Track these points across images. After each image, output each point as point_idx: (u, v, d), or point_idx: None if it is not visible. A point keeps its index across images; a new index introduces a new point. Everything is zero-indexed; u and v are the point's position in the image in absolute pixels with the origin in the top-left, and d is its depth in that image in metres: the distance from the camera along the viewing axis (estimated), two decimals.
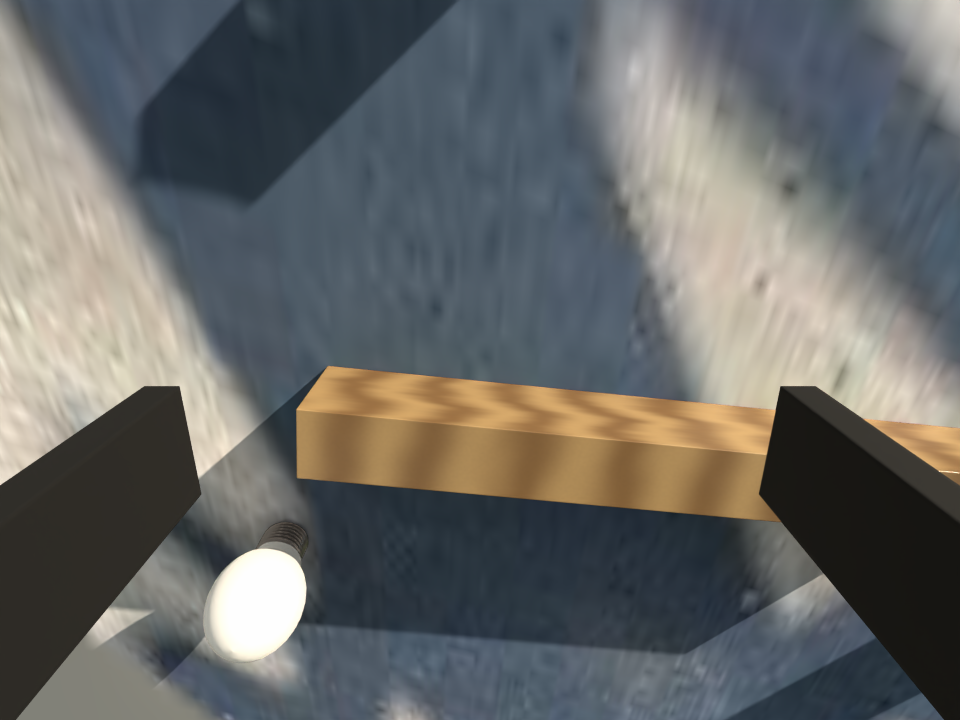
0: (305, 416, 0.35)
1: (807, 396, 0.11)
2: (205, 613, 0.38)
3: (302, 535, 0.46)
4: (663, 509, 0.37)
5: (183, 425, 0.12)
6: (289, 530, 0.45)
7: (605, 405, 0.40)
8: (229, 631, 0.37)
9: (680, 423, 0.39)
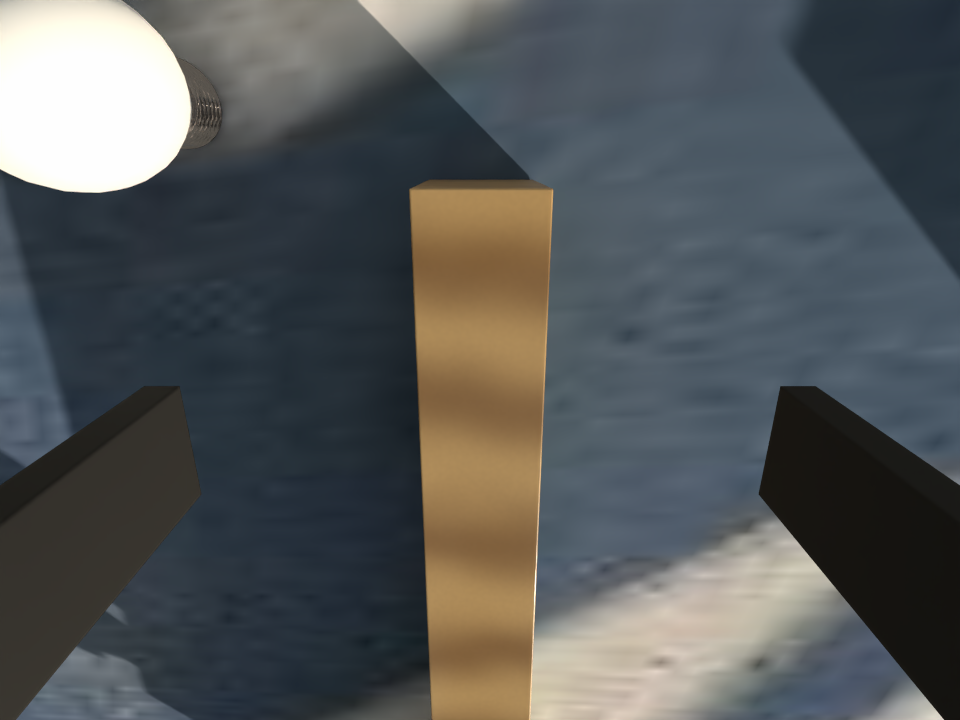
0: (540, 205, 0.19)
1: (808, 396, 0.11)
2: None
3: (202, 140, 0.25)
4: (434, 699, 0.28)
5: (183, 425, 0.12)
6: (211, 117, 0.24)
7: None
8: (17, 59, 0.15)
9: None
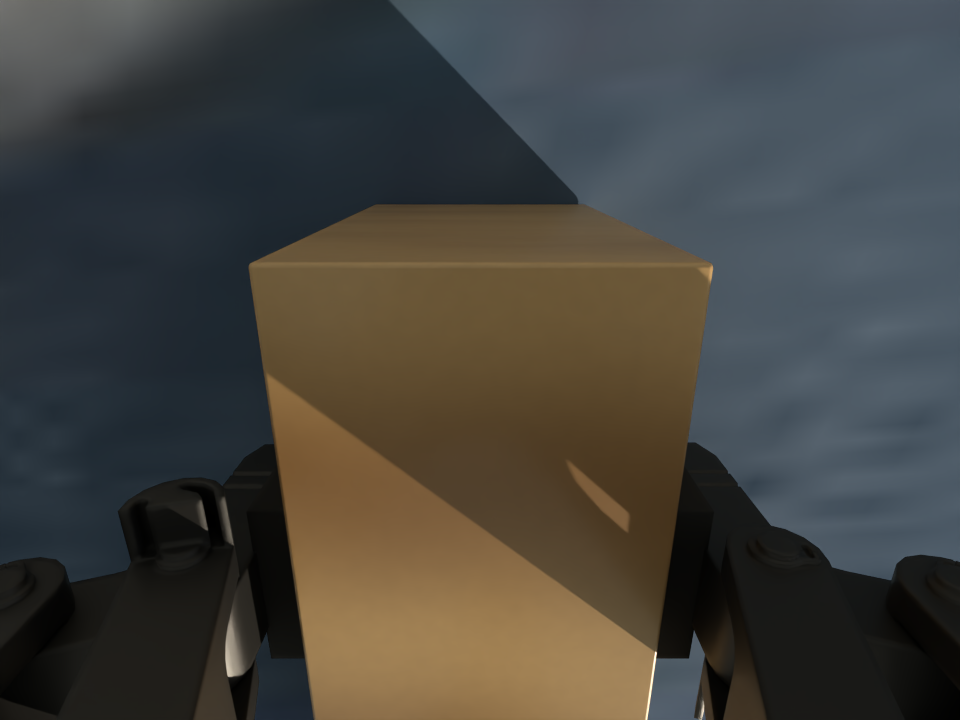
0: (670, 313, 0.06)
1: None
2: None
3: None
4: None
5: None
6: None
7: None
8: None
9: None
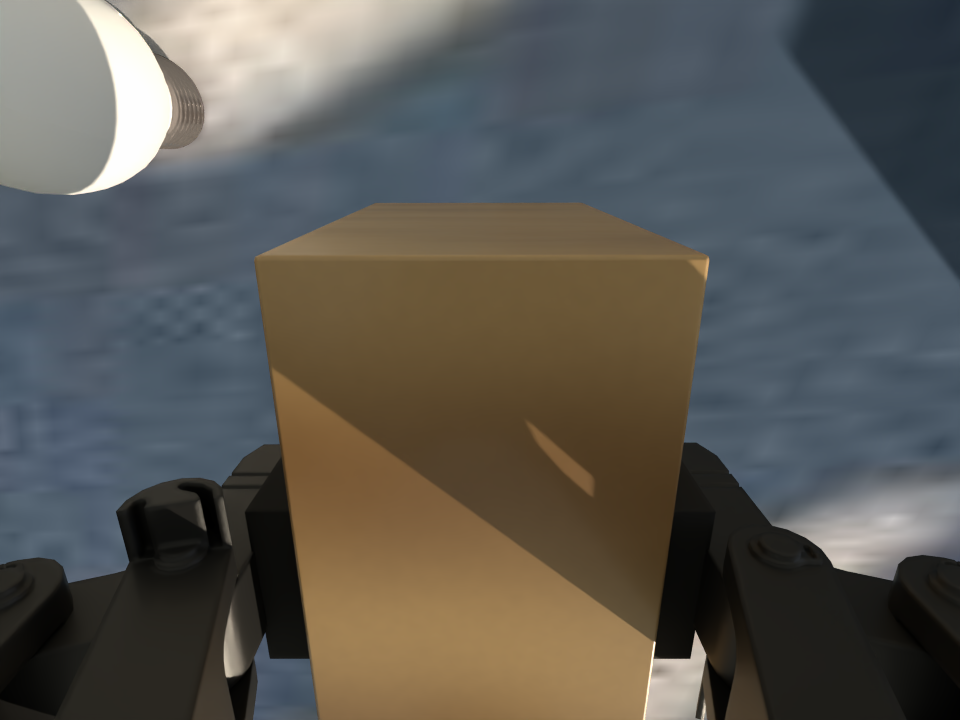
0: (668, 305, 0.06)
1: None
2: None
3: (184, 140, 0.24)
4: None
5: None
6: (193, 116, 0.24)
7: None
8: None
9: None
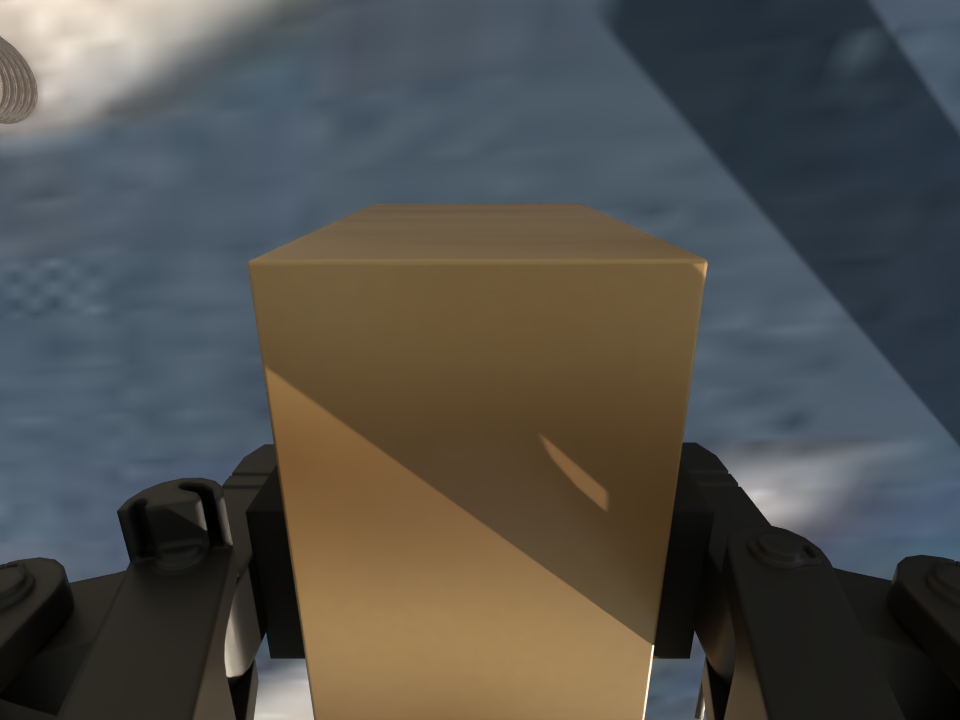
0: (665, 309, 0.06)
1: None
2: None
3: (18, 115, 0.25)
4: None
5: None
6: (21, 91, 0.24)
7: None
8: None
9: None
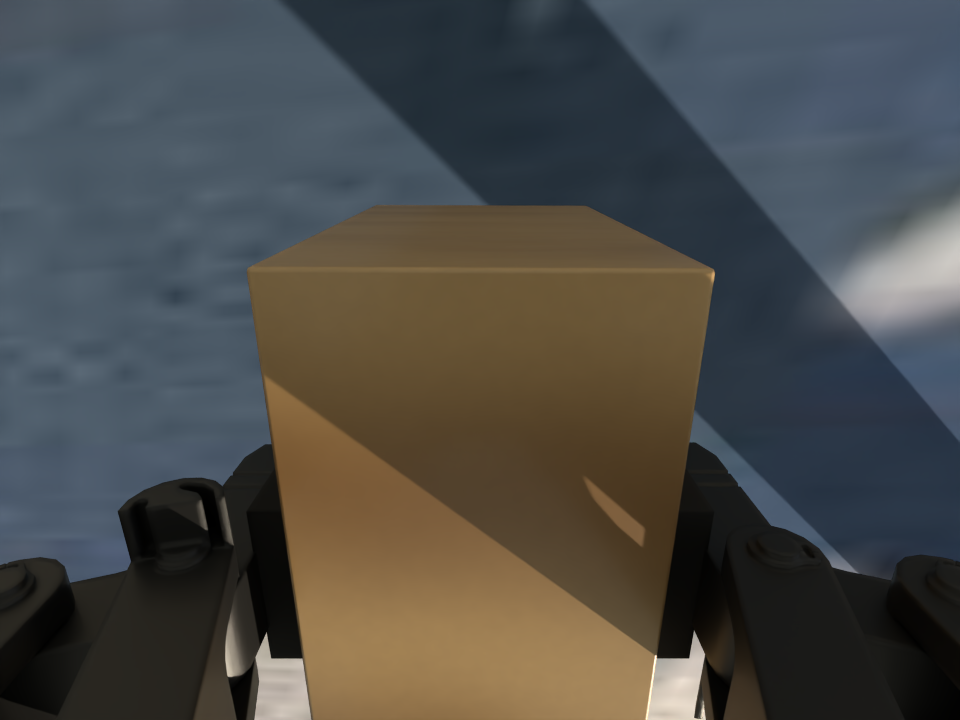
0: (672, 319, 0.06)
1: None
2: None
3: None
4: None
5: None
6: None
7: None
8: None
9: None
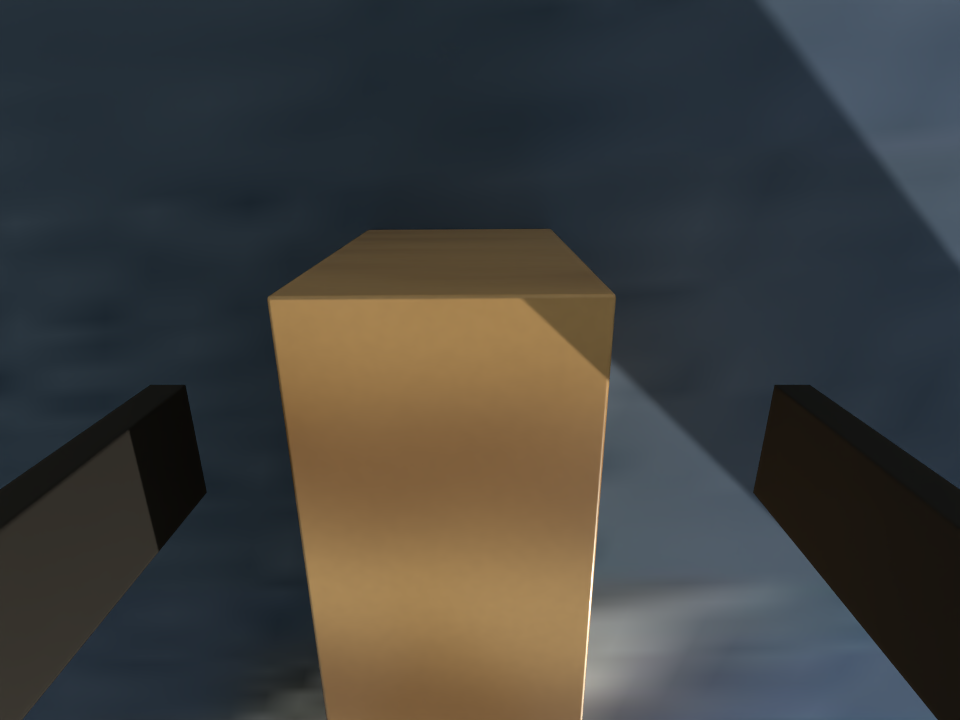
0: (585, 331, 0.08)
1: (801, 395, 0.11)
2: None
3: None
4: None
5: (189, 423, 0.12)
6: None
7: None
8: None
9: None
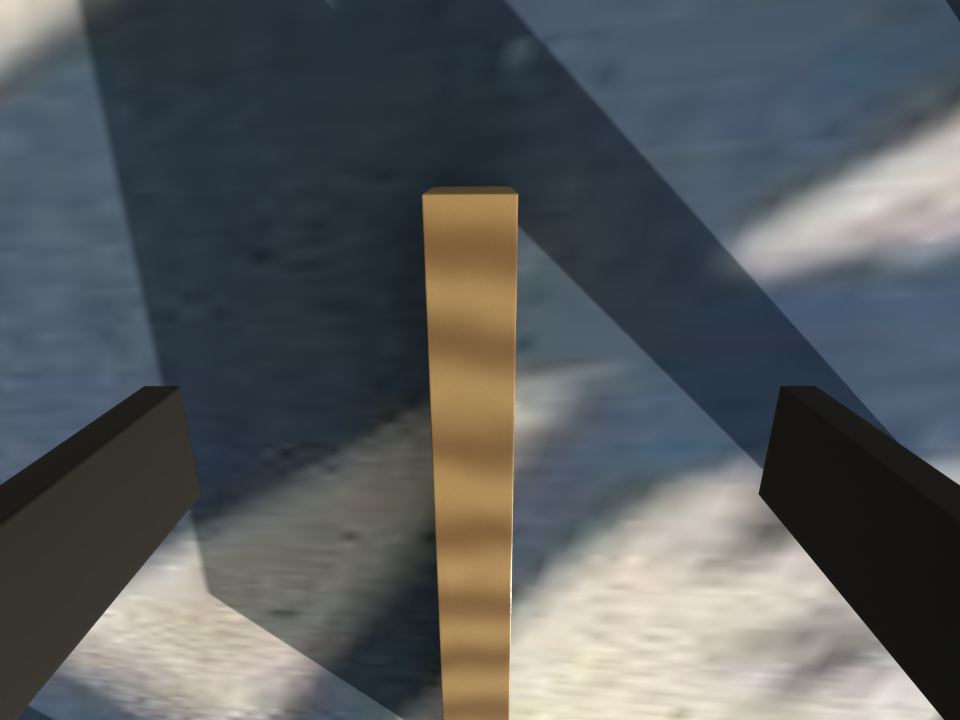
0: (509, 204, 0.29)
1: (807, 396, 0.11)
2: None
3: None
4: (439, 572, 0.37)
5: (183, 425, 0.12)
6: None
7: None
8: None
9: None
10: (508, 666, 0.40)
